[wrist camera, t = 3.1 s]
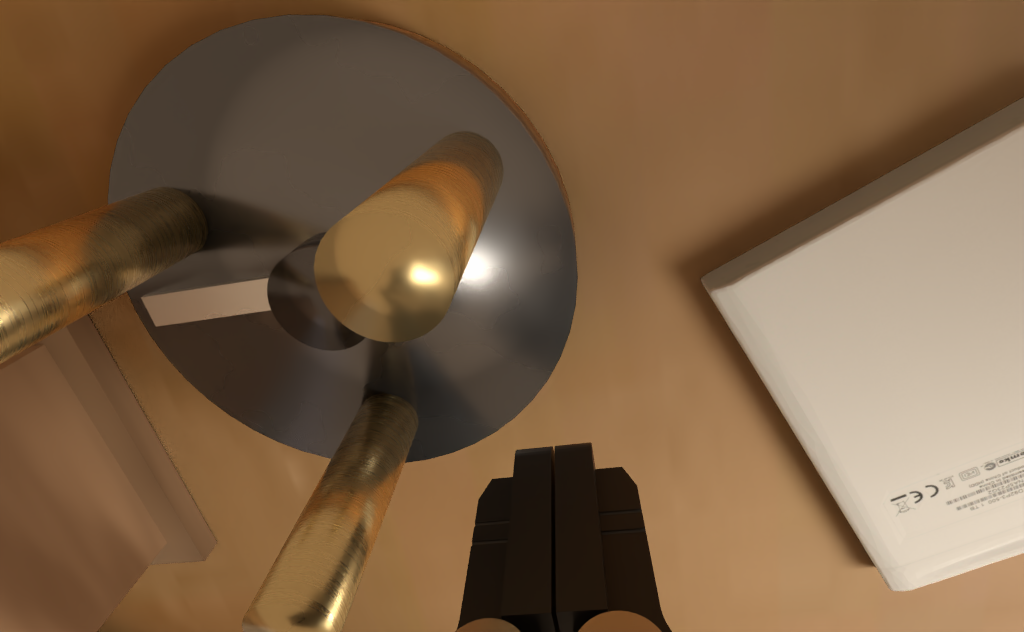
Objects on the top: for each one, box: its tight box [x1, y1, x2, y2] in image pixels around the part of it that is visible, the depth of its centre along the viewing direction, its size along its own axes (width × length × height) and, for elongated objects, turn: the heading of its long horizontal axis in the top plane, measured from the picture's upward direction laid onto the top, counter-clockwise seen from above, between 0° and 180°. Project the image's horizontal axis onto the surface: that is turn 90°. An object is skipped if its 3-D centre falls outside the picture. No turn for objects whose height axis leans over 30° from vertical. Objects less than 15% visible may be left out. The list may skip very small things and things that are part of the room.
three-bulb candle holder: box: [0, 15, 578, 632], centre depth 11 cm, size 11×11×8 cm
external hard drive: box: [701, 97, 1024, 591], centre depth 15 cm, size 2×8×12 cm
